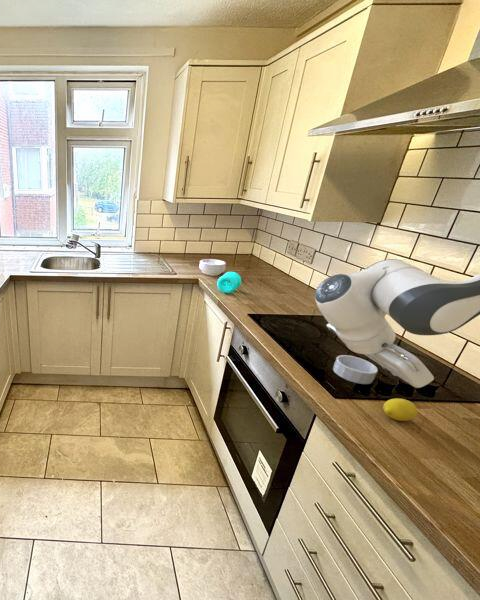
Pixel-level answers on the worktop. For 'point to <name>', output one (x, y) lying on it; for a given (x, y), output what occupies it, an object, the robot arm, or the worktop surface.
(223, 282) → the turquoise rounded cylinder
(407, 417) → the lemon
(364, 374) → the pale grey round dish
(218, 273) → the paper bowls
